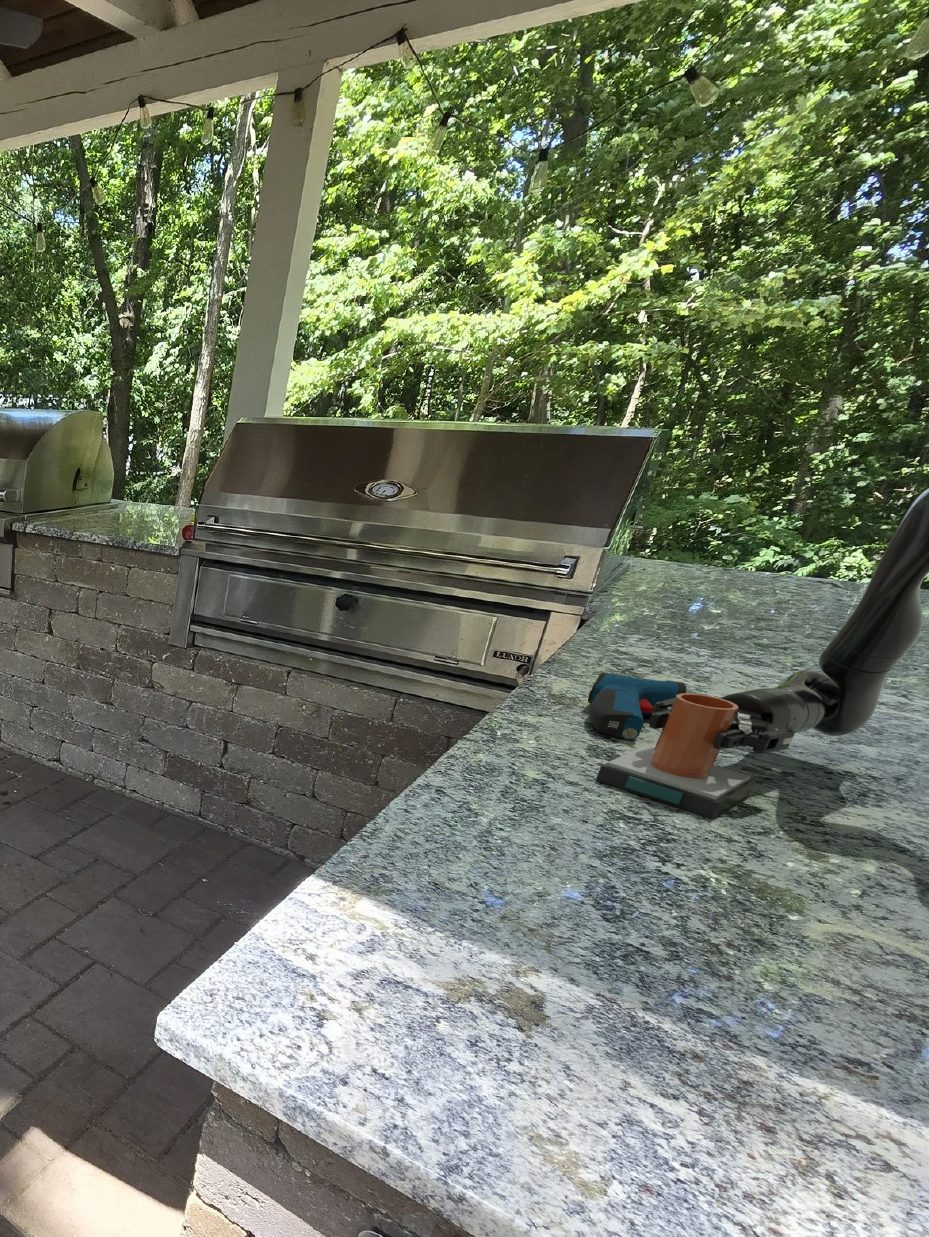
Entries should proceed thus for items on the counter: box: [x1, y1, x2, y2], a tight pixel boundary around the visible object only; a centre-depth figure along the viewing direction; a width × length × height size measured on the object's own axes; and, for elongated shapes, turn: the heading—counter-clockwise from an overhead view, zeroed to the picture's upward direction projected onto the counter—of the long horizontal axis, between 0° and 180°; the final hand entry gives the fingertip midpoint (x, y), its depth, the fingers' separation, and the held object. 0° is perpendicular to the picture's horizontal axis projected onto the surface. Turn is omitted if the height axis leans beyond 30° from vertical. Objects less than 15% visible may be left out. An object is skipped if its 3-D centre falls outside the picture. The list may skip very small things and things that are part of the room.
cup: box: [650, 692, 739, 778], centre depth 109 cm, size 6×6×10 cm
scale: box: [595, 745, 756, 820], centre depth 111 cm, size 13×14×3 cm
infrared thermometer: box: [587, 672, 687, 741], centre depth 133 cm, size 6×13×20 cm
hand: (685, 731), depth 108 cm, fingers open, 7 cm apart
